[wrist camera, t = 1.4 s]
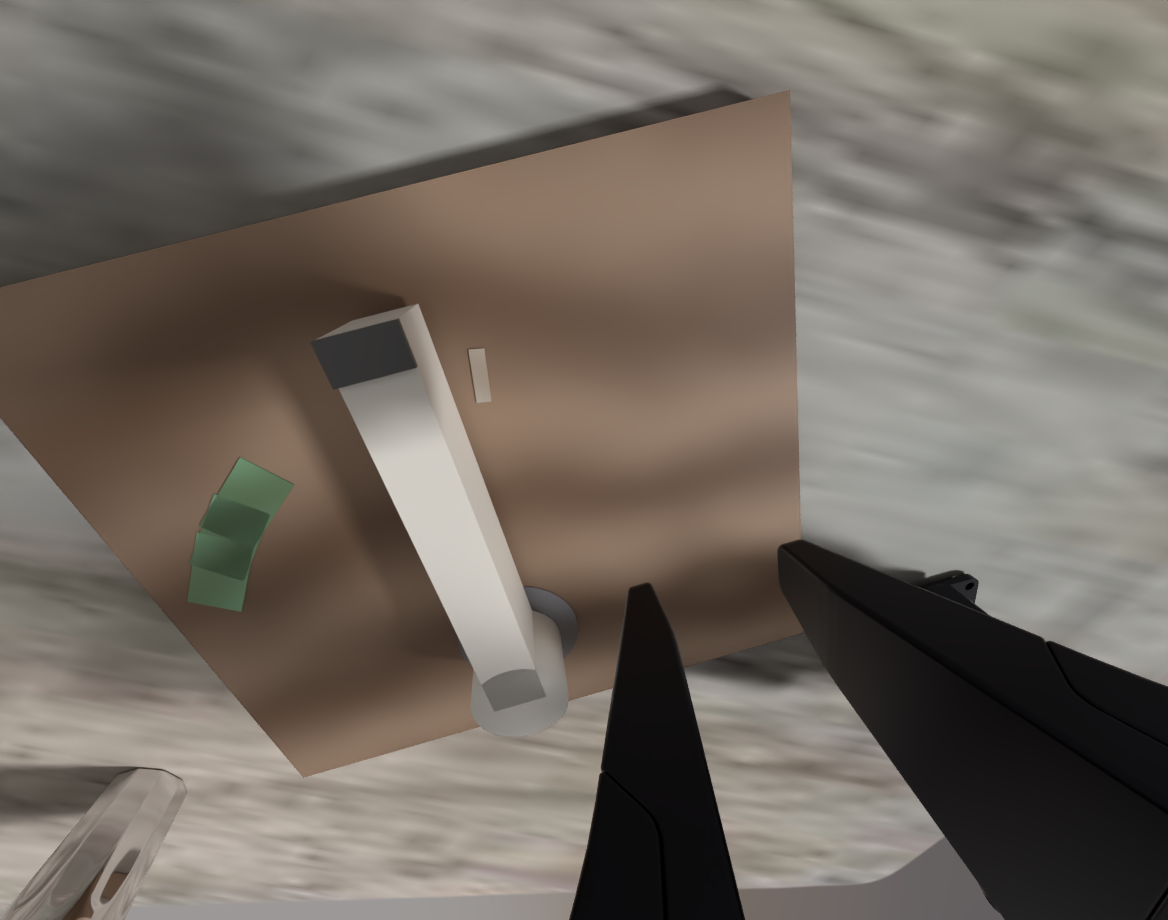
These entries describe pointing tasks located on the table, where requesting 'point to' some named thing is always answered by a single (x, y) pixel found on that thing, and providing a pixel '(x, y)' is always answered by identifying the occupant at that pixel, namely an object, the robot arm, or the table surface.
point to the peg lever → (448, 515)
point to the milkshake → (104, 852)
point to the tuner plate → (485, 404)
